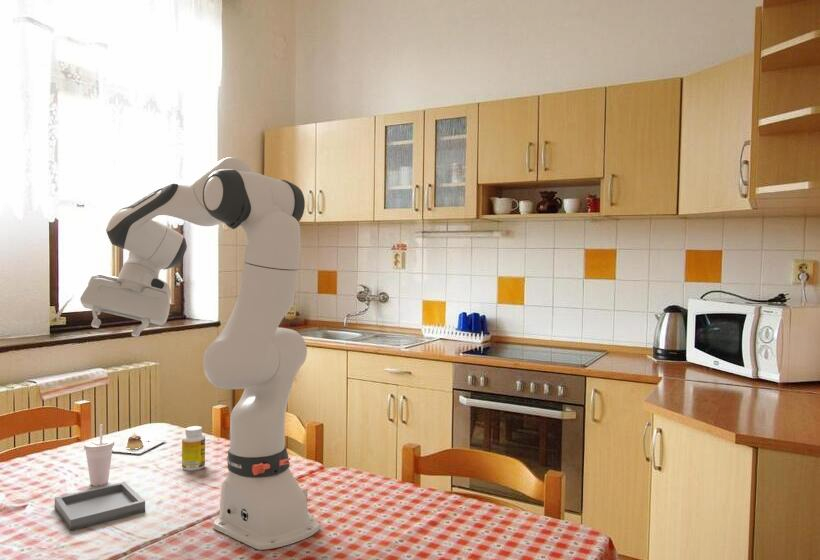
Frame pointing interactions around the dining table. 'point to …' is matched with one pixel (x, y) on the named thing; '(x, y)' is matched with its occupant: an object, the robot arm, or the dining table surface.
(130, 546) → the dining table surface
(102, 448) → the smoothie
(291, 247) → the robot arm
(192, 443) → the supplement bottle
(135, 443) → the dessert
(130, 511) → the tray
